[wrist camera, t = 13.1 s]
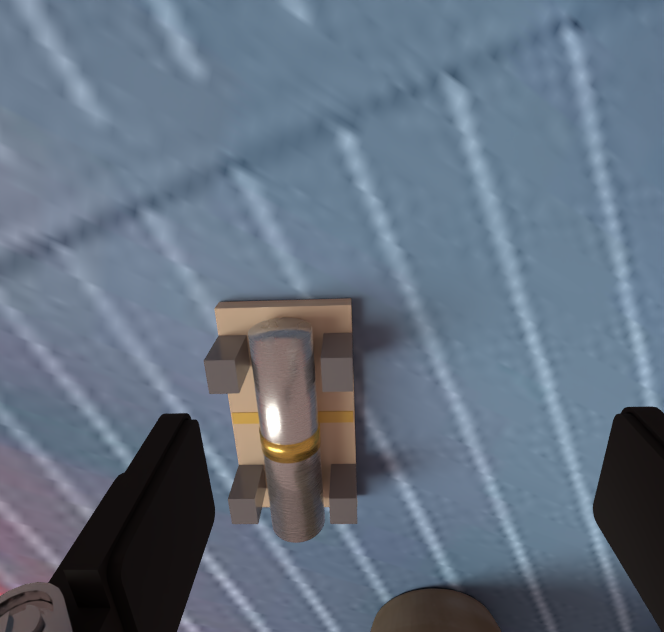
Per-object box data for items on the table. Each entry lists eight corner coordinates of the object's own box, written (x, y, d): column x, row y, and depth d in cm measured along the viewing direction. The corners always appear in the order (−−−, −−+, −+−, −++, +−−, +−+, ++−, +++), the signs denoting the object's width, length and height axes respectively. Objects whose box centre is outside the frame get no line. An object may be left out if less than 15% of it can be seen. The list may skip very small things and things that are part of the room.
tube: (253, 317, 39) (240, 346, 34) (315, 316, 38) (310, 344, 34) (275, 499, 47) (267, 543, 42) (327, 499, 46) (324, 543, 42)
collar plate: (351, 298, 39) (351, 327, 34) (356, 495, 48) (357, 543, 43) (219, 301, 40) (198, 331, 35) (248, 496, 49) (235, 543, 43)
